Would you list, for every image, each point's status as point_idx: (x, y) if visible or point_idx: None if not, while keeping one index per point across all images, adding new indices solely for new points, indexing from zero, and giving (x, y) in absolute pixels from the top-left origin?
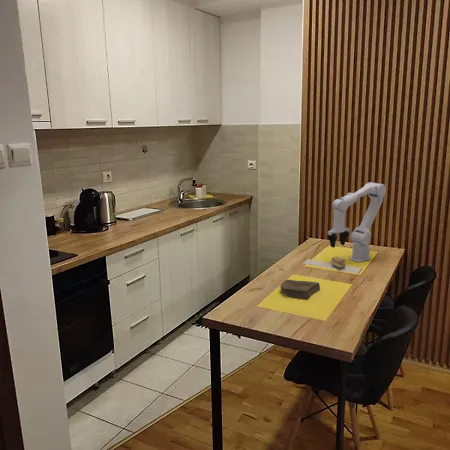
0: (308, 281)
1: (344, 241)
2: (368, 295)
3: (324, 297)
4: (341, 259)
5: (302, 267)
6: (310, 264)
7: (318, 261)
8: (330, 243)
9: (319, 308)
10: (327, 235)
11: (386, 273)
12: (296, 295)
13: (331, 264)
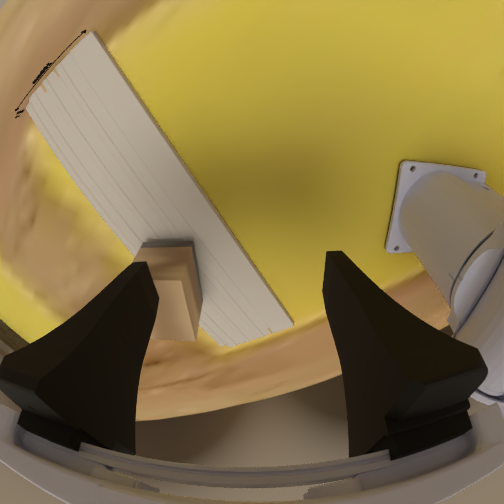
0: (1, 342)
1: (334, 339)
2: (137, 411)
3: None
4: (167, 331)
5: (10, 164)
6: (53, 139)
7: (122, 110)
8: (108, 289)
9: None
10: (7, 366)
11: (327, 374)
12: None
13: (140, 247)
